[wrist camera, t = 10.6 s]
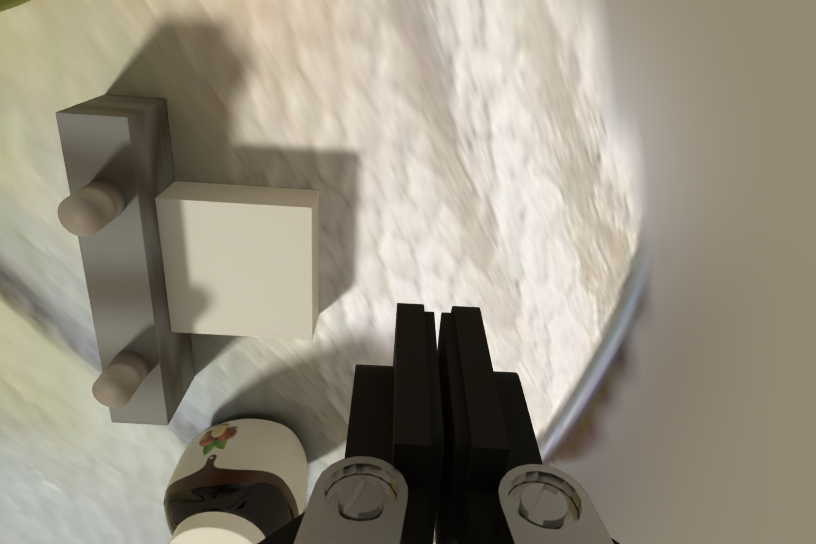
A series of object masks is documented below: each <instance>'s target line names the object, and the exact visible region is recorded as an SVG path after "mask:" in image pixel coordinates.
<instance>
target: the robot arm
mask: <svg viewBox="0 0 816 544" xmlns="http://www.w3.org/2000/svg"><path fill="white" fill-rule="evenodd" d="M434 530H435V539H436V544H619V543H618V542H616V541H615V540H614V539H612V538H611V537H610V535H609V534H608V532H607V530H606V528H605V526H604V524H603V522H602V520H601V518H600V516H599V514H598V512H597V511H596V509H595V507H594V505H593V503H592V501H591V499H590V497H589V495H588V494H587V493H586V491H585V490H584V488H583V487H582V485H581V484H580V483H578V482H577V481H576V480H575V479H574V478H573V477H571V476H570V475H568V474H566V473H564V472H563V471H561V470H559V469H557V468H553V467H550V466H546V465H543V463H542V460H541V456H540V452H539V449H538V445H537V441H536V438H535V434H534V430H533V426H532V423H531V419H530V415H529V412H528V408H527V404H526V400H525V397H524V393H523V389H522V386H521V382H520V379H519V376H518V374H517V373H514V372H495V371H493V367H492V363H491V358H490V353H489V349H488V344H487V339H486V334H485V330H484V325H483V320H482V315H481V311H480V308H479V307H461V306H453V307H452V310H451V313H442V314H441V321H440V330H439V339H438V349H437V343H436V330H435V318H434V312H424V305H423V304H405V303H397V313H396V328H395V344H394V359H393V366H376V365H356V369H355V376H354V385H353V393H352V402H351V410H350V418H349V427H348V435H347V443H346V452H345V459H342V460H340V461H338V462H336V463H334V464H332V465H330V466H329V467H328V468H327V469H326V470H325V471H323V472H322V473H321V475H320V477H319V478H318V480H317V482H316V484H315V486H314V489H313V492H312V495H311V497H310V500H309V503H308V506H307V508H306V511H305V512H304V513H302V514H301V515H299V516H298V517H296V518H295V519H293V520H292V521H290V522H289V523H287V524H286V525H284V526H283V527H281V528H280V529H278V530H277V531H275V532H274V533H272V534H271V535H269V536H268V537H266V538H265V539H263V540H262V541H260V542H259V543H257V544H433V538H434Z"/></svg>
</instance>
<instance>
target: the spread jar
mask: <svg viewBox="0 0 816 544" xmlns="http://www.w3.org/2000/svg"><path fill="white" fill-rule="evenodd" d="M307 488H308V465H307V459H306V455H305V452H304V449H303V447H302V445H301V443H300V441H299V439H298V437H297V436H296V434H295V433H294V432H293V430H292V429H291V428H290V427H288V426H287V425H286V424H284V423H283V422H281V421H279V420H277V419H274V418H271V417H268V416H263V415H257V414H245V415H238V416H234V417H231V418H228V419H225V420H223V421H221V422H219V423H217V424H215V425H213V426H211V427H209V428H207V429H206V430H204V431H203V432H202V433H200V434H199V435H198V436H196V437H195V438H194V439H193V440H192V441H191V443H190V444H189V445H188V447H187V448H186V450H185V451H184V453H183V454H182V456H181V458H180V460H179V462H178V464H177V466H176V468H175V470H174V472H173V474H172V477H171V479H170V481H169V484H168V487H167V490H166V493H165V498H164V509H165V515H166V521H167V525H168V528H169V530H170V533H171V535H172V538H171V540H170V543H169V544H257V543H259V542H260V541H262V540H263V539H265V538H266V537H268V536H269V535H271V534H272V533H274V532H275V531H277V530H278V529H280V528H281V527H283V526H284V525H286V524H287V523H289V522H290V521H292V520H293V519H295V518H296V517H298V516H299V515H301V514H302V513H303V509H304V504H305V499H306V494H307Z"/></svg>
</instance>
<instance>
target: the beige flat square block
mask: <svg viewBox="0 0 816 544" xmlns="http://www.w3.org/2000/svg"><path fill="white" fill-rule="evenodd" d="M155 202H156V210H157V218H158V227H159V235H160V243H161V251H162V259H163V267H164V276H165V284H166V292H167V300H168V308H169V316H170V325H171V332H179V333H197V334H215V335H234V336H252V337H270V338H288V339H306V340H312V339H313V335H314V332H315V328H316V324H317V320H318V317H319V190H308V189H292V188H276V187H260V186H244V185H229V184H213V183H197V182H181V181H175V182H173V183H172V184H171V185H170V186H169V187H168V188H166V189H165V190H164V191H163V192H162V193H161V194H159V195H158V196H157V197H156V198H155Z"/></svg>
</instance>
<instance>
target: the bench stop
mask: <svg viewBox="0 0 816 544" xmlns="http://www.w3.org/2000/svg"><path fill="white" fill-rule="evenodd" d="M56 118H57V123H58V129H59V134H60V140H61V145H62V151H63V156H64V162H65V167H66V173H67V178H68V184H69V189H70V196H69V197H67V198H66V199H64V200H63V201H62V202H61V203H60V205H59V207H58V217H59V220H60V222H61V224H62V225H63V226H64V227H65V228H66V229H67V230H68V231H69V232H71V233H72V234H74V235H77V236H78V239H79V244H80V250H81V255H82V261H83V266H84V272H85V277H86V283H87V288H88V294H89V299H90V304H91V310H92V315H93V321H94V326H95V332H96V337H97V343H98V348H99V354H100V359H101V365H102V370H103V373H102V374H101V375H100V376H99V378H98V379H97V380H96V381H95V383H94V384H93V387H92V392H93V395H94V397H95V398H96V400H97V401H98V402H100V403H101V404H103V405H105V406H107V407H109V409H110V414H111V420H112V422H117V423H135V424H153V425H168V424H169V422H170V421H171V419H172V417H173V415H174V413H175V412H176V410H177V408H178V406H179V404H180V402H181V401H182V399H183V397H184V395H185V393H186V391H187V390H188V388H189V386H190V384H191V382H192V380H193V379H194V377H195V375H194V365H193V355H192V346H191V336H190V333H179V332H171V325H170V316H169V308H168V300H167V292H166V284H165V276H164V267H163V259H162V251H161V243H160V235H159V227H158V218H157V210H156V202H155V198H156V197H157V196H158V195H159V194H161V193H162V192H163V191H164V190H165V189H166V188H168V187H169V186H170V185H171V184H172V183H173V182H175V181H174V172H173V162H172V152H171V143H170V133H169V123H168V114H167V104H166V99H160V98H146V97H131V96H116V95H102V96H99V97H96V98H94V99H91V100H88V101H86V102H83V103H80V104H77V105H75V106H72V107H69V108H67V109H64V110H61V111H58V112H56Z"/></svg>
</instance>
